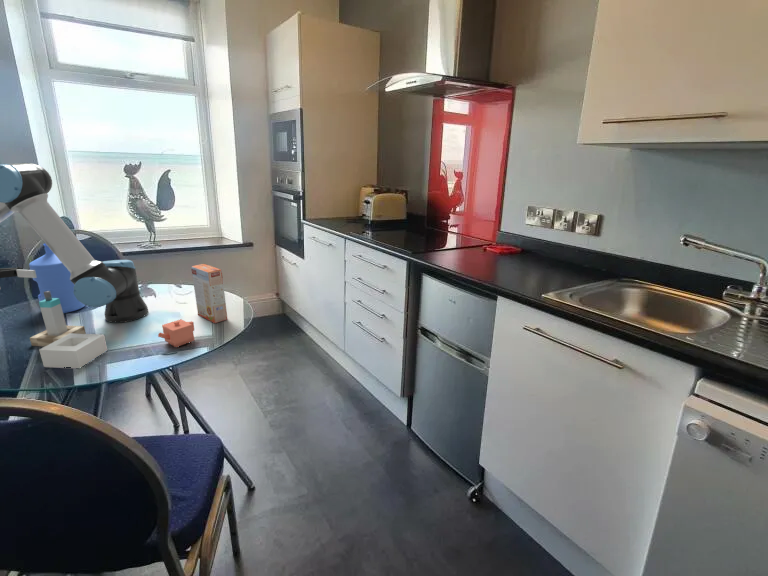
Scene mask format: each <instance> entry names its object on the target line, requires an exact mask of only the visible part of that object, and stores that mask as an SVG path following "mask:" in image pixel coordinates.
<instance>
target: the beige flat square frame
mask: <svg viewBox="0 0 768 576" xmlns="http://www.w3.org/2000/svg"><path fill="white" fill-rule="evenodd" d="M66 326H67V330H68V331H67V332H65V333H63V334H61V335H59V336H53V335H48V334H47V330H46V329H45V330H44V331H40V332H39V333H37V334H35V335H32V336H31V337H29V340H30V344H31V347H45V346H47V345H49V344H51V343H53V342H55V341H57V340H58V339H60V338H62V337H64V336H66V335H68V334H70V333H74V334H87V332H86V329H85V328H86V327H85V326H84V325H67V324H66Z"/></svg>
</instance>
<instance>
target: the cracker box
mask: <svg viewBox="0 0 768 576" xmlns="http://www.w3.org/2000/svg"><path fill="white" fill-rule="evenodd" d="M190 268H191V275H192V280H193V281H192V282H193V289H194V294H195V296H194V297H195V303H196V310H197V315H198V316H199V317H202V318H204V319H206V321H209V322H211V323H213V324H217V323H220V322H224V321H227V320H228V313H227V305H226V304H227V303H226V296H225V295H226V294H225V288H224V279H223V270H222V269H220V268H218V267H214V266H212V265H209V264H205V263H200V264H196V265H192V266H190Z"/></svg>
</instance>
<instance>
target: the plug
mask: <svg viewBox="0 0 768 576" xmlns="http://www.w3.org/2000/svg"><path fill="white" fill-rule="evenodd" d="M44 296H45V300H42V301H40V302H39V301H38V304H39V308H40V312H41V315H42V318H43V319H42V320H43V322H44V326H45V330H47V334H48V335H53V336H59V335H61V334H63V333H65V332H67V331H68V330H67V326H68V325H67V322H66V319H65V315H64V313H63V311H62V307H61V303H60V299H59V298H52V296H51V293H50V291H45V292H44ZM66 325H67V326H66Z"/></svg>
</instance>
